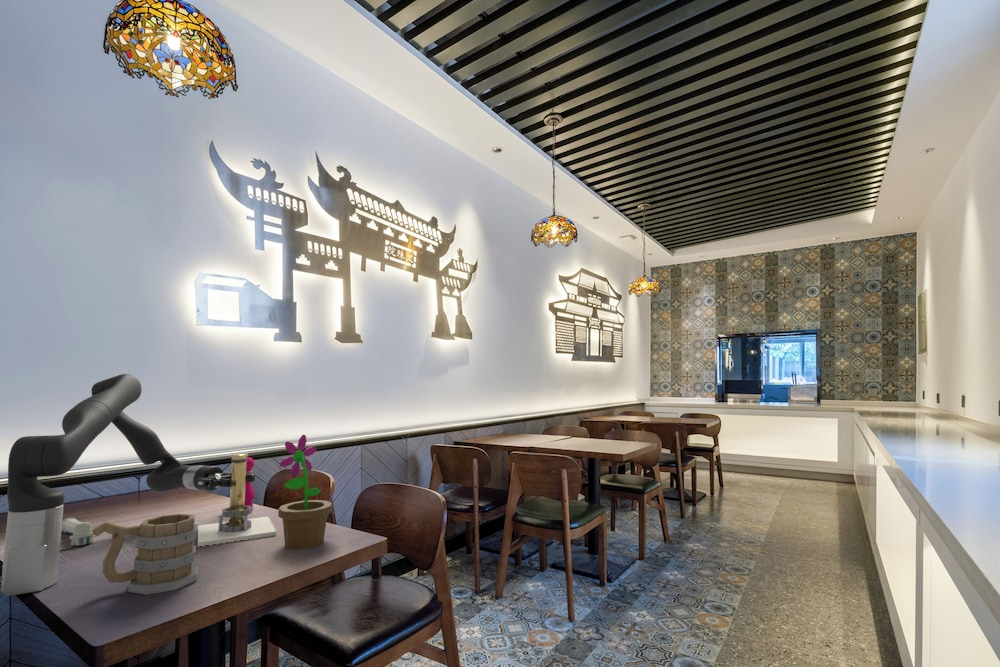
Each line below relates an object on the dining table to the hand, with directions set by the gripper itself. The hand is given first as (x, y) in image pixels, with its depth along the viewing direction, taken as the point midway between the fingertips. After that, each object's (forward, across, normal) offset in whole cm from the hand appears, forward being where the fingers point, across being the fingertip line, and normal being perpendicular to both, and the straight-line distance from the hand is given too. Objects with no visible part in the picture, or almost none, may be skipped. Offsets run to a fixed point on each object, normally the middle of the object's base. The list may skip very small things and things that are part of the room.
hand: (242, 480), depth 152 cm
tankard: (+12, -38, +16) cm, 43 cm away
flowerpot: (+26, -2, +16) cm, 30 cm away
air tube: (-2, 0, +14) cm, 14 cm away
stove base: (-2, 0, +16) cm, 16 cm away
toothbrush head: (-44, -19, +16) cm, 50 cm away
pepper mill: (-24, +24, +16) cm, 37 cm away
